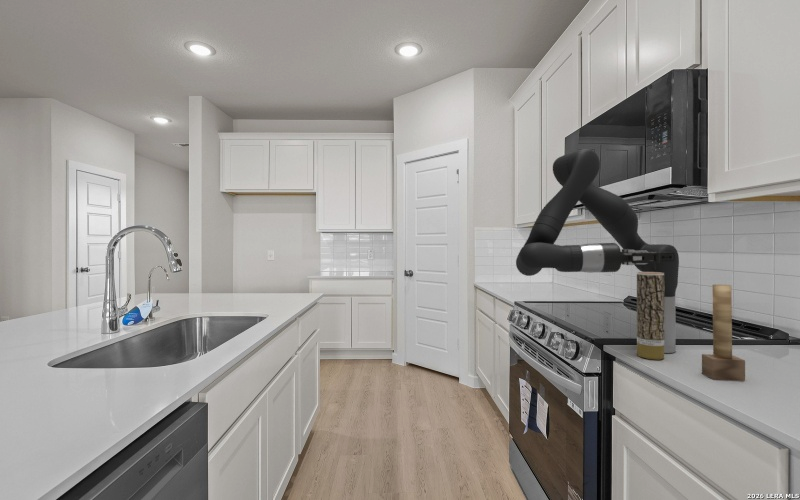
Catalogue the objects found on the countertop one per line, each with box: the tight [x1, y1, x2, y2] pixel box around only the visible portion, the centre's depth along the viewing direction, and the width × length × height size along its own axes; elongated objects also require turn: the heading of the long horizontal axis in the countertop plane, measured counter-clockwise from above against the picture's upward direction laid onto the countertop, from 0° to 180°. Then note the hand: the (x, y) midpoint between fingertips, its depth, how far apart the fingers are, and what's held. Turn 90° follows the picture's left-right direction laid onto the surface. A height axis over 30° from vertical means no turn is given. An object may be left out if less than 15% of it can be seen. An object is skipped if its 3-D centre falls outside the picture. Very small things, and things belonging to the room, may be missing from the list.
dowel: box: [712, 284, 733, 359], centre depth 95 cm, size 4×4×18 cm
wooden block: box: [701, 353, 746, 382], centre depth 95 cm, size 7×4×5 cm, turn 80°
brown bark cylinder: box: [636, 271, 665, 361], centre depth 113 cm, size 7×7×25 cm
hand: (664, 256), depth 97 cm, fingers open, 8 cm apart
